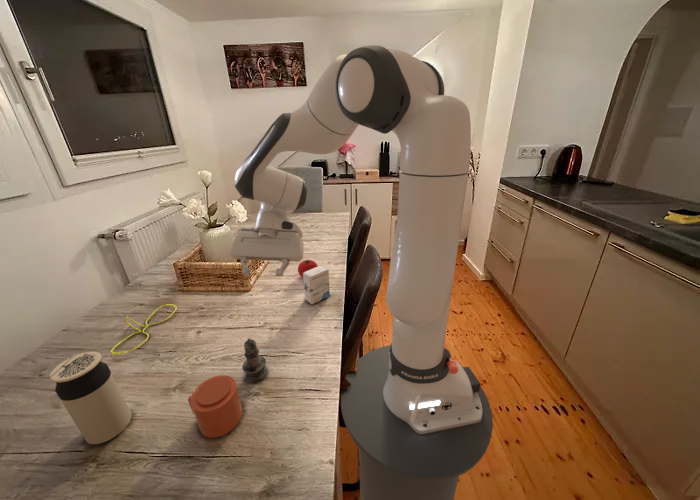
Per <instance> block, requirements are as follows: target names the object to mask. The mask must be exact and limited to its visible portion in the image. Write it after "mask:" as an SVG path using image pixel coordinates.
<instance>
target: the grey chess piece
mask: <svg viewBox="0 0 700 500" xmlns="http://www.w3.org/2000/svg"><path fill="white" fill-rule="evenodd" d="M243 347H244V354H243V355H244V357H245V359H246V360H245V361H244V362H243V363H242V366H241V368H242V371H243V372H244V373H245V379H246V381H247V382H249V383H253V384H254V383H257V382H261V381H262V380H263V379H264V378H265V377H266V376H267V373H268V370H267V368H266V364H267V359H266V358H265V357H264V356H261V355H260V354H259V353H260V349H259V348H258V347H257V342H256V341H255V339H251V338H247V339H246V340H245V342H244V344H243Z"/></svg>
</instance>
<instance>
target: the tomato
mask: <svg viewBox="0 0 700 500" xmlns="http://www.w3.org/2000/svg"><path fill="white" fill-rule="evenodd" d="M318 266H319V265H318V264H317V262H316V261H314V260H311V259H305V260H303V261H302V260H301V261H300V263H299V264H298V266H297V273H298V275H299V276H300V277H301V278H303V273H304V272H306V271H308V270H311V269H313V268H316V267H318Z"/></svg>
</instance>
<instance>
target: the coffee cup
mask: <svg viewBox="0 0 700 500" xmlns="http://www.w3.org/2000/svg"><path fill="white" fill-rule="evenodd" d="M237 385H238V384H237V382H236V380H235V378H233V377H232V376H230V375H225V374H221V375H216V376H212V377H210V378H207V379H206V380H204V381H202V382H201V383H200V384H199V385H197V387H196V388H195V389H194V390H193V392H192V394H191V395H190V396H189V397H188V398H187V401H188V404H189V407H190V409H191V412H192V415H194V417H195V420H196V423H197V425H198V428H199V431H200V433H201V434H202V435H203V436H204V437H206V438H211V439H215V438H219V437H222V436H225V435H227V434H228V433H230V432H231V431H233V430H234V429H235V428H236V427H237V426H238V424H239V423H240V421H241V419H242V416H243V413H244V412H243V411H244V409H243V405H242V401H241V397H240V393H239V389H238V386H237Z"/></svg>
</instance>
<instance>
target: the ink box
mask: <svg viewBox="0 0 700 500" xmlns="http://www.w3.org/2000/svg"><path fill="white" fill-rule="evenodd" d="M317 266H318V267H316V268H313V269H311V270H308V271H306V272H304V273H303V277H302V282H303V288H304V299H305V300H306V302H308V303H309V304H310V305H314V304H316V303H318V302H321V301H322V300H324V299H326V298H328V297H330V296H331V291H330V274H329V269H328V268H327V267H325V266H323V265H317Z"/></svg>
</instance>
